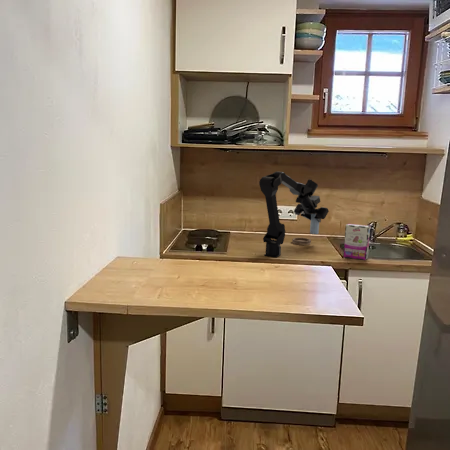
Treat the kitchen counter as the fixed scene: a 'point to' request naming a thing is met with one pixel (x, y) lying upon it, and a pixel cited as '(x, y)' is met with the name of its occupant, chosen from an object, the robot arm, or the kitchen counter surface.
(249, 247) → the kitchen counter surface
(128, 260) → the kitchen counter surface
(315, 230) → the bead jar
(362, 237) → the candy bar box
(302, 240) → the walnut tray
